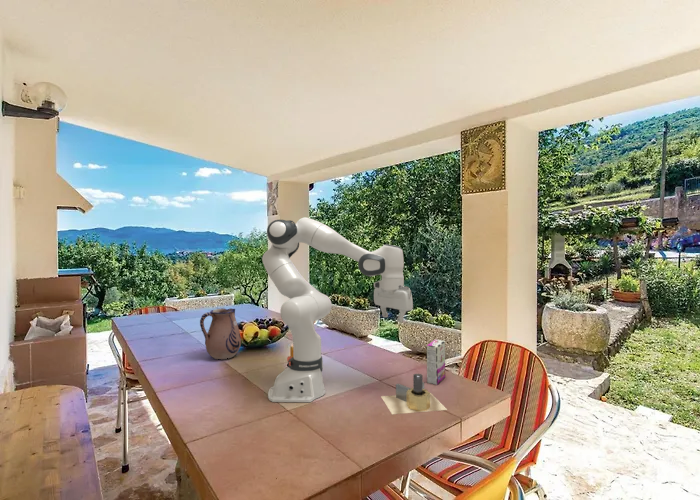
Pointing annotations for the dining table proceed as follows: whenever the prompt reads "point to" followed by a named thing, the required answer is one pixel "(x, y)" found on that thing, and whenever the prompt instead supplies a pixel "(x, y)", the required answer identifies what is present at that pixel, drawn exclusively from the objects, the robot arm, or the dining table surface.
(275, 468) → the dining table surface
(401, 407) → the oak board
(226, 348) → the ceramic pitcher
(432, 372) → the candy bar box
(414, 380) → the hinge pin
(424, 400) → the hinge leaves
